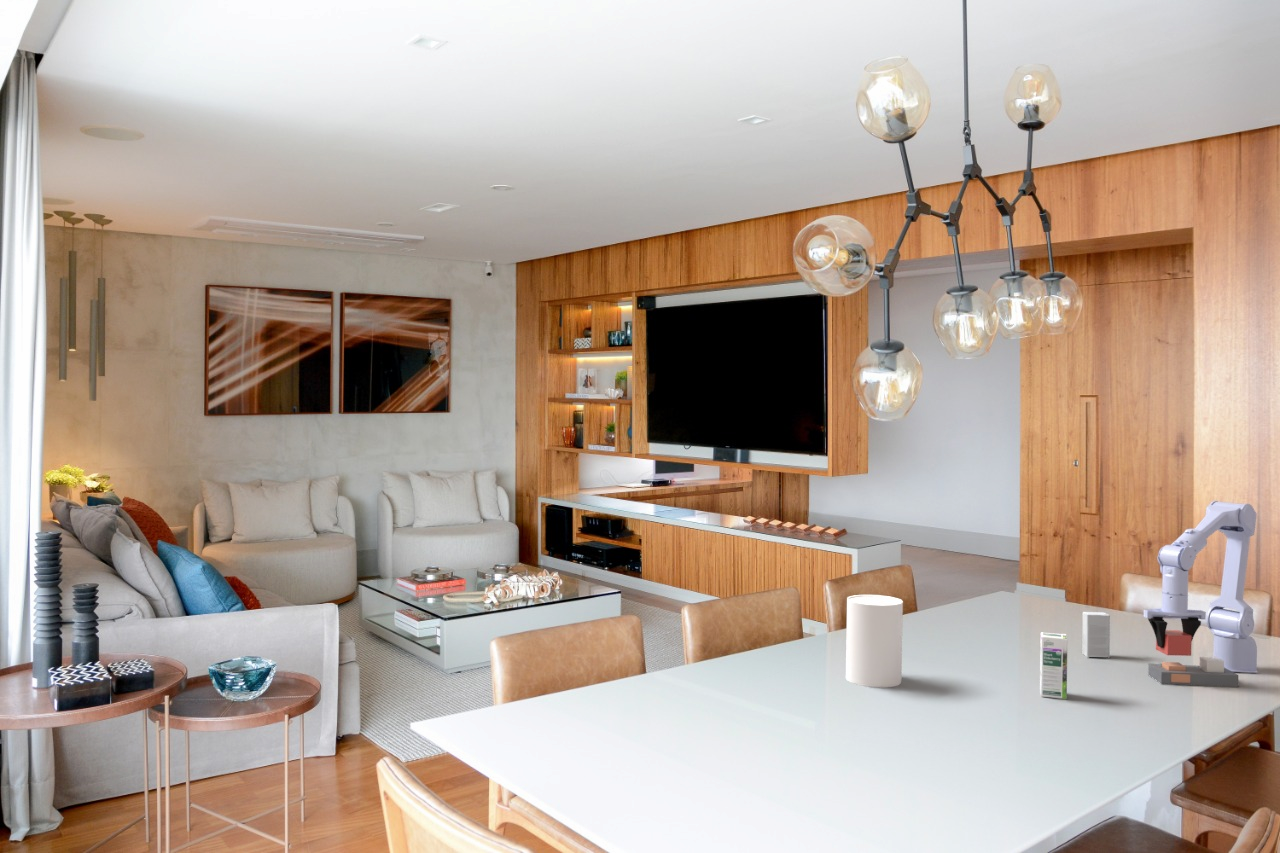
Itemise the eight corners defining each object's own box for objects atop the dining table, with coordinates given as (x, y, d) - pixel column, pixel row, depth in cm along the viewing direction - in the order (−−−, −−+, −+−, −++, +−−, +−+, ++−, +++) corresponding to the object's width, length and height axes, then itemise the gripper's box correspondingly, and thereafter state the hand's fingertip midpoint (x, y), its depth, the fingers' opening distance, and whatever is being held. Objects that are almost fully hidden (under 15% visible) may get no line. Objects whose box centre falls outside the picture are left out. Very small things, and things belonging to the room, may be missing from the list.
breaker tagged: (1178, 676, 248) (1178, 662, 248) (1185, 680, 244) (1185, 666, 244) (1161, 675, 248) (1162, 661, 248) (1168, 679, 244) (1168, 665, 244)
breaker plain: (1216, 671, 247) (1216, 657, 247) (1223, 675, 243) (1224, 661, 243) (1199, 670, 247) (1199, 656, 247) (1206, 674, 243) (1207, 660, 243)
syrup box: (1040, 697, 230) (1041, 636, 230) (1039, 690, 236) (1040, 630, 236) (1066, 700, 228) (1067, 638, 228) (1065, 693, 234) (1066, 632, 234)
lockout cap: (1178, 649, 249) (1179, 630, 249) (1191, 655, 243) (1191, 635, 243) (1155, 649, 249) (1156, 630, 249) (1167, 655, 243) (1168, 635, 243)
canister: (858, 669, 253) (859, 592, 253) (909, 678, 245) (910, 599, 245) (837, 680, 242) (838, 600, 242) (889, 690, 234) (890, 607, 234)
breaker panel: (1222, 678, 249) (1222, 666, 248) (1238, 687, 240) (1238, 675, 240) (1148, 675, 251) (1148, 663, 251) (1161, 684, 242) (1161, 672, 242)
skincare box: (1103, 654, 271) (1104, 611, 271) (1109, 658, 267) (1110, 615, 267) (1081, 654, 272) (1082, 611, 271) (1086, 658, 267) (1087, 614, 267)
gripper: (1195, 590, 250) (1194, 643, 250) (1138, 589, 250) (1136, 642, 250) (1210, 596, 243) (1209, 650, 243) (1151, 595, 243) (1150, 649, 243)
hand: (1173, 647), depth 246 cm, fingers closed on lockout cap, 6 cm apart
